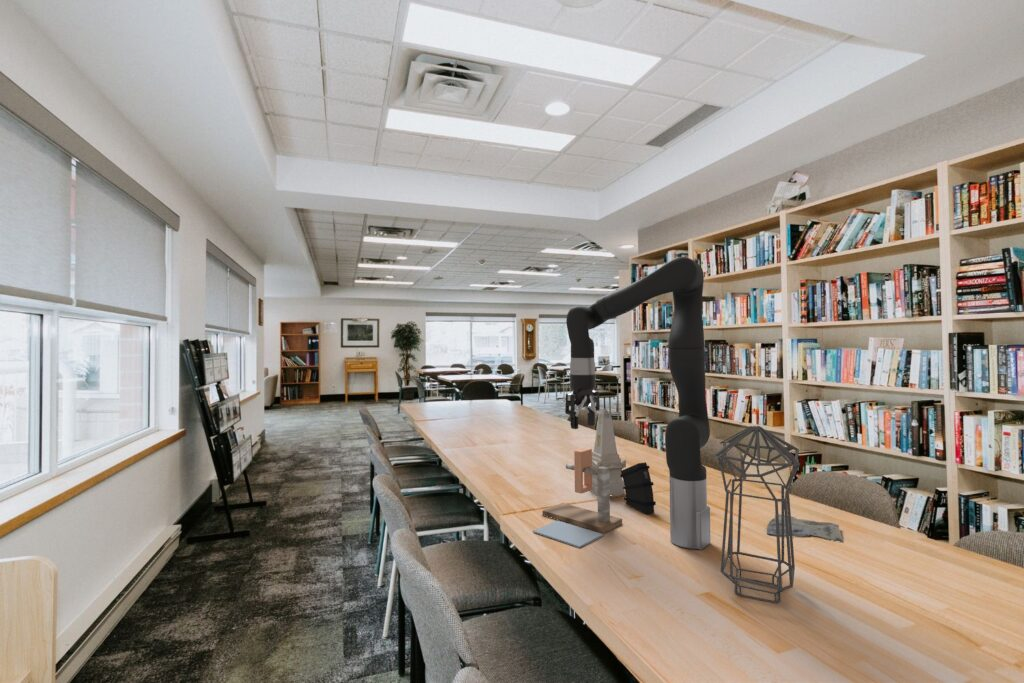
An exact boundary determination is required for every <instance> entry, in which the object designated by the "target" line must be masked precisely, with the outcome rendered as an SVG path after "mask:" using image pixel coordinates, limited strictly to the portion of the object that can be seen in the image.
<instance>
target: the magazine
mask: <svg viewBox="0 0 1024 683" xmlns="http://www.w3.org/2000/svg"><path fill="white" fill-rule="evenodd" d="M649 469H650V465H648V464H647V462H645V461H644V462H639V463H636V464H633V465H632V466H629V467H625V469H624V468H623V469H622V471H621V473H622V474H621V475H620V476H621V477H622V480H623V481H624V487H623V489H625V497H624V498H623V500H624V501H625V505H627V506H628V505H629V507H630V506H631V507H630V508H632V507H633V509H635V510H637V511H639V512H641V513H644V514H646V515H649V514H650V515H651V514H654V513H655V506H656V505H657V502H656V501H655V500H654V492H653V486H654V482H653V481H652V479H651V475H650V472H649Z"/></svg>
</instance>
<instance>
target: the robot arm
mask: <svg viewBox="0 0 1024 683" xmlns="http://www.w3.org/2000/svg"><path fill="white" fill-rule="evenodd" d="M704 278H705V276H704V271H703V268H702V265H700V264H699V263H698V262H697V261H695V260H694V259H692V258H689V257H687V256H678V257H675V258H673V259H671V260H669V261H668V262H665V263H664V264H663V265H661V266H660V267H658V268H657V269H655V270H654V271H653V272H651V273H649V274H647V275H645V276H644V277H642V278H640V279H638V280H635V281H634V282H632V283H630V284H628V285H626V286H624V287H621V288H619V289H616V290H614V291H612V292H610V293H608V294H605V295H603V296H601V297H599V298H597V299H596V302H594V303H593V304H590V305H588V306H581V305H575V306H572V307H571V308H570V309H569V310H568V312H567V314H566V320H565V321H566V329H567V334H568V338H569V342H570V362H569V373H570V374H569V387H570V389H571V390H573V391H572V393H566V394H565V407H564V409H565V411H564V412H565V415H569V416H570V419H569V420H570V428H571V429H572V430H578V429H579V414H580V411H582V410H583V408H585V409H586V411H587V426H590V427H593V426H595V425H596V413H597V411H600V392H599V390H594V389H596V362H595V361H596V360H595V343H594V342H595V341H594V340H593V339H592V338H590V332H589V330H592V329H595V328H597V327H599V326H601V325H603V324H604V323H606V322H607V321H608V320H612V319H614V318H617V317H619V316H622V315H624V314H626V313H630V311H633V310H634V309H636V308H638V307H639V306H640V305H642V304H644V303H645V302H647V301H649V300H651V299H654V298H656V297H658V296H662V295H665V294H670V293H672V299H673V318H672V322H671V327H670V331H669V336H668V342H667V344H668V346H667V347H668V348H667V350H668V353H667V354H668V367H669V368H668V369H669V372H670V374H671V378H672V380H673V383H674V386H675V388H676V392H677V397H678V417H675V418H673V419H671V420H670V421H669V422H668V423H667V425H666V428H665V435H664V438H665V441H664V442H665V459H666V465H667V467H668V470H669V517H670V518H669V521H670V522H669V527H670V528H669V530H670V531H669V532H670V533H669V534H670V535H669V536H670V542H671V543H673V544H674V545H676V546H678V547H681V548H685V549H690V550H691V549H695V550H701V551H702V550H703V549H705V548H706V547H707V546H709V545H710V544H711V543H712V542H711V508H710V506H709V505H708V501H707V500H708V494H707V492H708V491H707V490H708V489H707V488H708V487H707V484H708V483H707V467H705V465H704V464H703V463H702V461H701V460H702V456H701V448H703V447H705V445H706V444H707V443H708V441H709V440H710V435H711V431H710V430H711V428H710V421H709V414H708V408H707V400H706V399H707V398H706V346H705V333H704V321H703V313H702V312H703V310H702V308H703V305H702V304H703V293H704V292H703V291H704V280H705V279H704Z"/></svg>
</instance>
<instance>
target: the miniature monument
mask: <svg viewBox="0 0 1024 683" xmlns="http://www.w3.org/2000/svg"><path fill="white" fill-rule="evenodd" d="M602 409H603V410H601V411H600V412H599V413H598V418H597V425H596V431H595V439H594V445H593V446H594V447H593V450H592V468H593V469H597V468H598V467H602V466H603V467H608V468H609V481H610V495H615V496H622V495H621V494H624V495H626V493H625V489H623V487H625V486H624V481H623V477H621V476H620V475H621V474H622V473H621V471H622V470H623V469H624V468H625V469H626V468H627V460H626V459H624V460H622V459H621V457H620V454H619V453H618V450H617V445H616V444H617V443H616V437H615V432H614V424H613V420H612V414H611V413H610V412H609V411H608V410H607V409H606V408H605V407H604V408H602ZM591 491H592V492H591ZM589 492H591V493H593V494H594V493H595V495H596V494H597V495H598V493H597V475H595V474H592V490H590V491H589ZM597 495H596V496H597Z"/></svg>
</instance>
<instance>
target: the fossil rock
mask: <svg viewBox="0 0 1024 683" xmlns="http://www.w3.org/2000/svg"><path fill="white" fill-rule="evenodd" d="M778 515H779V534H780V537H781V514H780V513H778ZM791 524H792V536H795V538H807V536H808V537H809V536H811V537H815V538H820V539H823V538H824V540H827V539H829V540H828V541H831V540H833V541H832V542H836V541H840V542H839V543H843V542H844V540H843V538H842V537H843V536H842V533H841V529H840V524H837V523H833V522H827V521H815V520H810V519H803V518H800V519H798V518H796V517H795V516H791ZM788 526H789V523H788ZM766 534H767V535H768V534H769V535H770V536H773V535H776V516H775V515H774V517H773V519H771V520H770V521H769V522H768V523H767V527H766ZM784 536H786V526H785V514H784ZM789 536H790V535H789Z"/></svg>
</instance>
